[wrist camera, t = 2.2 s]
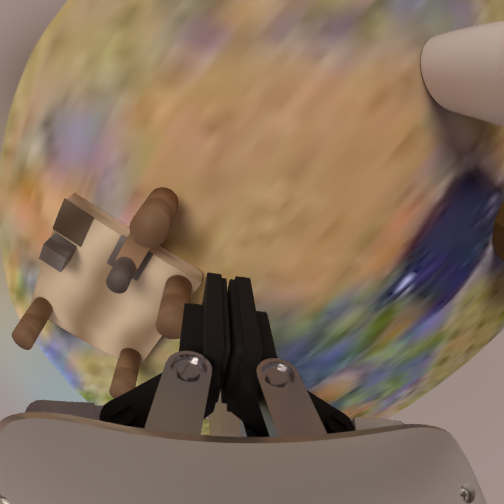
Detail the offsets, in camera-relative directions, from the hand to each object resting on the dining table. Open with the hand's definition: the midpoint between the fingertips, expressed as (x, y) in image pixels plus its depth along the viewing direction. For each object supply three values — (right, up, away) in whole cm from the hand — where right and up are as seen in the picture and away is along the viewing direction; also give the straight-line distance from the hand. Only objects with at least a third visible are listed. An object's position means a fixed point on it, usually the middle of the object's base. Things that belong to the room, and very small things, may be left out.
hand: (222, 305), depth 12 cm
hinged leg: (-7, +4, +12) cm, 14 cm away
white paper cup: (+21, +20, +9) cm, 30 cm away
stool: (-13, -1, +16) cm, 21 cm away
